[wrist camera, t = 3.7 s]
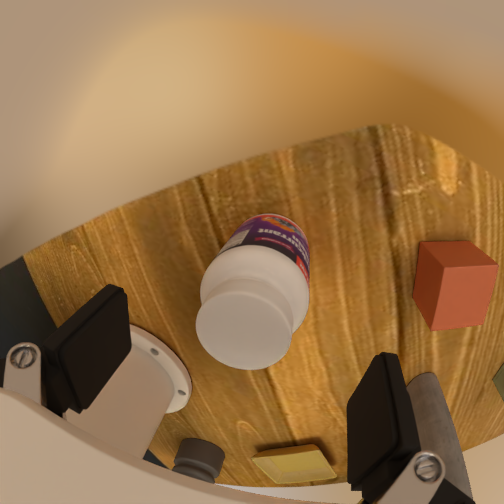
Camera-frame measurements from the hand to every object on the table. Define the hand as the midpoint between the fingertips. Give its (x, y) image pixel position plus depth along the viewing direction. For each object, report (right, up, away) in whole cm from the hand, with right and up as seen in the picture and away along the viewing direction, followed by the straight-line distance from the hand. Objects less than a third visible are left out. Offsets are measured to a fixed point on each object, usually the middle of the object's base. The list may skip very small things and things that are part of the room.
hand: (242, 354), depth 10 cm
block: (+14, +2, +9) cm, 17 cm away
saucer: (+6, -22, +20) cm, 31 cm away
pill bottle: (+2, +4, +11) cm, 11 cm away
